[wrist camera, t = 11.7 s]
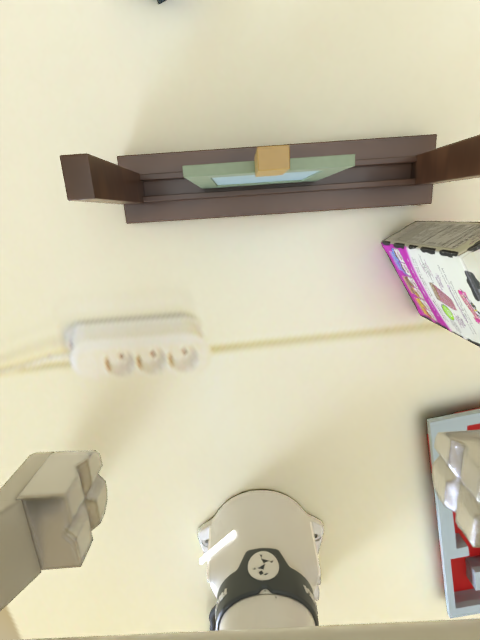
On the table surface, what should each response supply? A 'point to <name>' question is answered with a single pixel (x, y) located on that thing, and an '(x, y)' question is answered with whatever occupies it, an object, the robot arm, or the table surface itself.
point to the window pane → (267, 169)
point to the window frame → (325, 194)
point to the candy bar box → (441, 272)
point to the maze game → (456, 530)
